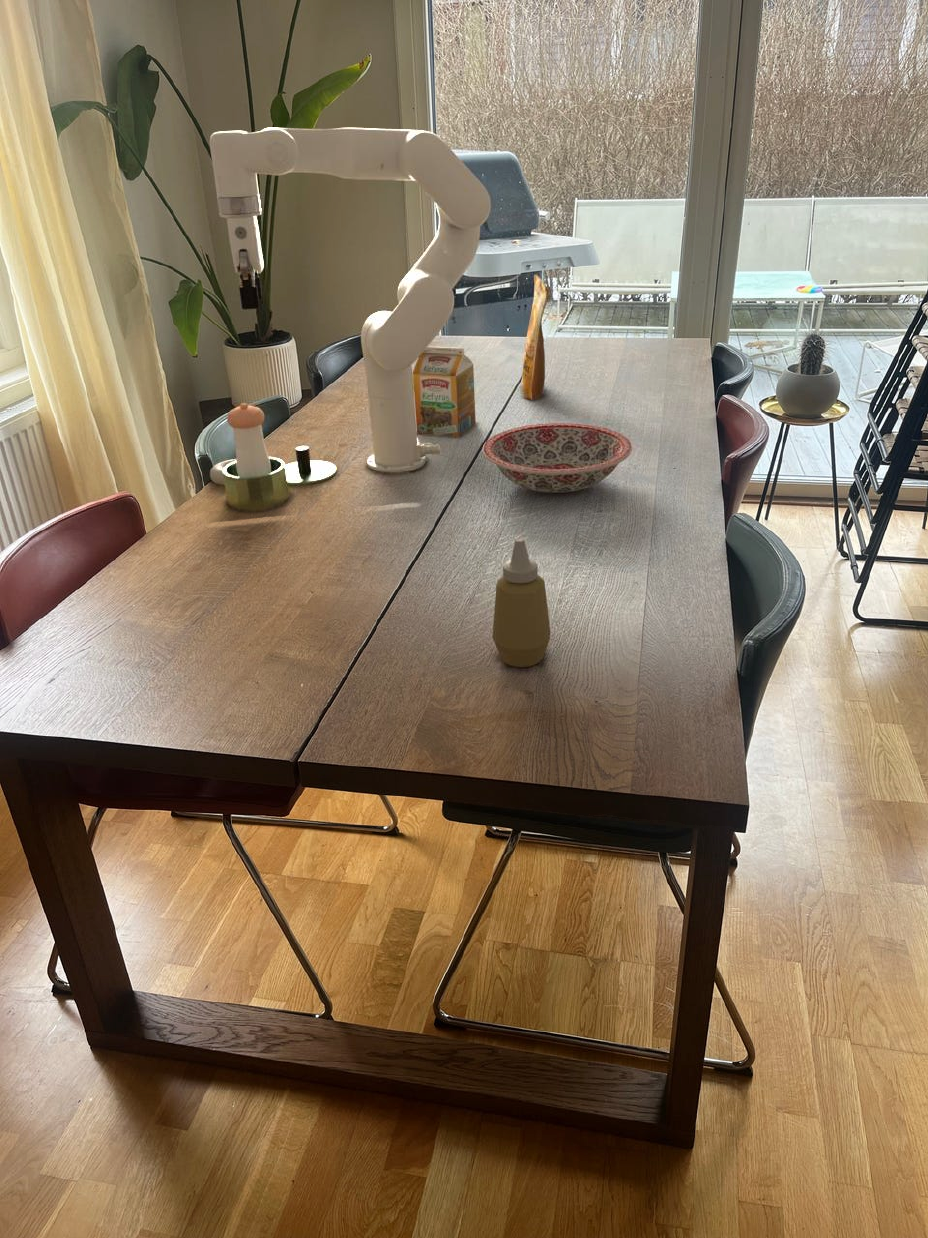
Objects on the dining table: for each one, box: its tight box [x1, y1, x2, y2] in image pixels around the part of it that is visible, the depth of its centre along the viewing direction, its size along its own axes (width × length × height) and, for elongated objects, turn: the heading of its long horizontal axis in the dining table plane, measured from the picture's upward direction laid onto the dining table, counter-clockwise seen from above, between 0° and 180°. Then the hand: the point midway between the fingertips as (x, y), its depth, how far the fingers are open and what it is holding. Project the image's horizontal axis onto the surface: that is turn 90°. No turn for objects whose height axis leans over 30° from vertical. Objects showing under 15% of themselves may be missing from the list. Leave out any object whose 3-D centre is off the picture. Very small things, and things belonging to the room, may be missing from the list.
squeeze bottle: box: [491, 537, 551, 668], centre depth 129 cm, size 8×8×18 cm
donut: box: [209, 458, 236, 486], centre depth 200 cm, size 10×4×10 cm
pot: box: [222, 456, 290, 510], centre depth 188 cm, size 12×12×7 cm
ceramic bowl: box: [482, 422, 633, 494], centre depth 188 cm, size 29×29×8 cm
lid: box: [285, 445, 337, 486], centre depth 199 cm, size 13×13×6 cm
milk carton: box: [412, 345, 477, 438], centre depth 220 cm, size 11×11×19 cm
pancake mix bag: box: [521, 273, 550, 401], centre depth 242 cm, size 7×19×28 cm, turn 178°
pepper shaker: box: [226, 402, 271, 477], centre depth 185 cm, size 7×7×19 cm
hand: (252, 303), depth 182 cm, fingers open, 9 cm apart
